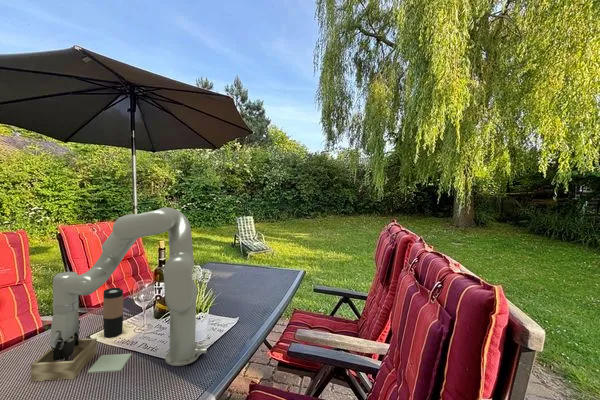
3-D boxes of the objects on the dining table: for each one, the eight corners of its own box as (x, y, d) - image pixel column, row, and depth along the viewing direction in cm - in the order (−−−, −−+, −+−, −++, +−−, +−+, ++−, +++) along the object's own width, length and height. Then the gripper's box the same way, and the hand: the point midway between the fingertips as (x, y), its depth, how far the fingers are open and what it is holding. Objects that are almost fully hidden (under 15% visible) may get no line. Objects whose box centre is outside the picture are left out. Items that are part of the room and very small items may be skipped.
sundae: (74, 359, 121) (74, 321, 120) (80, 366, 117) (80, 326, 116) (52, 366, 116) (52, 326, 115) (58, 374, 112) (58, 332, 111)
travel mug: (100, 339, 137) (100, 293, 136) (106, 331, 144) (106, 288, 143) (120, 337, 139) (120, 292, 138) (125, 329, 146) (125, 287, 145)
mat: (131, 355, 125) (131, 353, 125) (120, 371, 114) (120, 369, 114) (101, 356, 123) (101, 355, 123) (87, 373, 113) (87, 371, 113)
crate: (96, 353, 126) (96, 338, 126) (73, 379, 109) (73, 362, 109) (60, 355, 124) (60, 340, 123) (31, 382, 107) (31, 364, 107)
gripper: (68, 298, 123) (68, 341, 124) (39, 317, 106) (39, 366, 107) (89, 297, 124) (89, 340, 125) (64, 316, 107) (64, 365, 108)
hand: (66, 352), depth 116 cm, fingers open, 9 cm apart
